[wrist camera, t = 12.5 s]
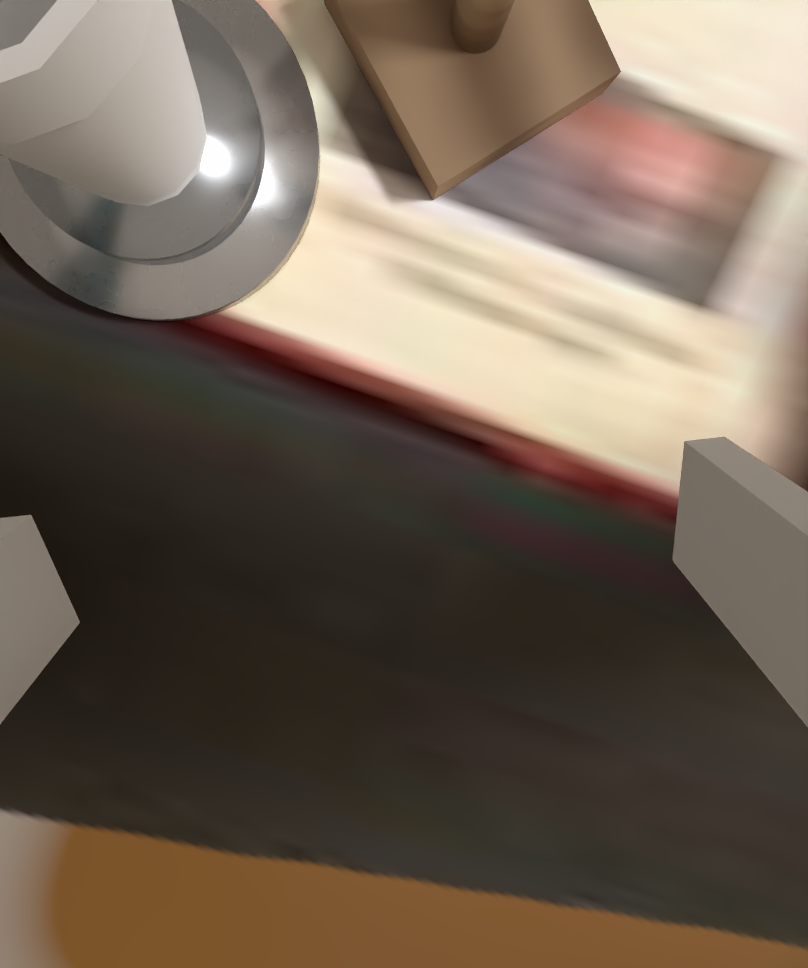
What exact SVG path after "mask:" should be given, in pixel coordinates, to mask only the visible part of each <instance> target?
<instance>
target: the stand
mask: <svg viewBox="0 0 808 968" xmlns="http://www.w3.org/2000/svg"><path fill="white" fill-rule="evenodd" d="M324 2H325V5H326V7H327V9H328V11H329V12H330V14H331V16H332V18H333V20H334V22H335V23H336V25H337V27H338V29H339V31H340V32H341V34H342V36H343V38H344V40H345V42H346V43H347V45H348V47H349V49H350V51H351V53H352V54H353V56H354V58H355V60H356V62H357V63H358V65H359V67H360V69H361V71H362V73H363V74H364V76H365V78H366V80H367V82H368V83H369V85H370V87H371V89H372V91H373V93H374V94H375V96H376V98H377V100H378V102H379V104H380V105H381V107H382V109H383V111H384V113H385V114H386V116H387V118H388V120H389V122H390V124H391V125H392V127H393V129H394V131H395V133H396V135H397V136H398V138H399V140H400V142H401V144H402V145H403V147H404V149H405V151H406V153H407V155H408V156H409V158H410V160H411V162H412V164H413V165H414V167H415V169H416V171H417V173H418V175H419V176H420V178H421V180H422V182H423V184H424V186H425V187H426V189H427V191H428V193H429V195H430V196H431V198H432V200H434V199H436V198H437V197H439V196H440V195H442V194H444V193H445V192H447V191H448V190H450V189H451V188H453V187H455V186H456V185H458V184H459V183H461V182H463V181H464V180H466V179H467V178H469V177H470V176H472V175H474V174H475V173H477V172H478V171H480V170H482V169H483V168H485V167H486V166H488V165H490V164H491V163H493V162H494V161H496V160H497V159H499V158H501V157H502V156H504V155H505V154H507V153H509V152H510V151H512V150H513V149H515V148H516V147H518V146H520V145H521V144H523V143H524V142H526V141H528V140H529V139H531V138H532V137H534V136H535V135H537V134H539V133H540V132H542V131H543V130H545V129H547V128H548V127H550V126H551V125H553V124H555V123H556V122H558V121H559V120H561V119H562V118H564V117H566V116H567V115H569V114H570V113H572V112H574V111H575V110H577V109H578V108H580V107H581V106H583V105H585V104H586V103H588V102H589V101H591V100H593V99H594V98H596V97H597V96H599V95H601V94H602V93H603V92H604V91H605V90H606V88H607V87H608V86H609V85H610V84H611V83H612V81H613V80H614V79H615V78H616V77H617V75H618V74H619V73H620V72H621V71H620V69H619V66H618V64H617V62H616V60H615V58H614V56H613V53H612V51H611V49H610V47H609V45H608V42H607V40H606V38H605V36H604V34H603V32H602V29H601V27H600V25H599V23H598V21H597V19H596V16H595V14H594V12H593V10H592V8H591V5H590V3H589V1H588V0H324Z"/></svg>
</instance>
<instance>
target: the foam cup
mask: <svg viewBox="0 0 808 968" xmlns="http://www.w3.org/2000/svg"><path fill="white" fill-rule="evenodd" d="M206 142H207V134H206V129H205V123H204V117H203V112H202V106H201V103H200V98H199V94H198V90H197V87H196V83H195V80H194V76H193V73H192V69H191V66H190V62H189V59H188V56H187V52H186V49H185V45H184V42H183V38H182V35H181V31H180V28H179V24H178V21H177V17H176V14H175V11H174V7H173V4H172V0H0V155H2V156H5V157H7V158H10V159H12V160H14V161H17V162H19V163H22V164H24V165H26V166H29V167H31V168H34V169H36V170H38V171H41V172H43V173H46V174H48V175H50V176H53V177H55V178H58V179H60V180H62V181H65V182H67V183H70V184H72V185H74V186H77V187H79V188H82V189H84V190H87V191H89V192H91V193H94V194H96V195H99V196H101V197H103V198H106V199H108V200H113V201H114V202H118V203H127V204H135V205H143V206H150V205H153V204H155V203H158V202H161V201H164V200H166V199H169V198H172V197H174V196H177V195H179V193H180V192H181V191H182V190H183V189H184V188H185V187H186V185H187V184H188V183H189V182H190V181H191V180H192V179H193V178H194V176H195V175H196V174H197V173H198V172H199V169H200V165H201V161H202V158H203V154H204V150H205V146H206Z"/></svg>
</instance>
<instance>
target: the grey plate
mask: <svg viewBox="0 0 808 968" xmlns="http://www.w3.org/2000/svg"><path fill="white" fill-rule="evenodd" d="M172 4H173V7H174V11H175V14H176V17H177V21H178V24H179V28H180V31H181V35H182V38H183V42H184V45H185V49H186V52H187V56H188V59H189V62H190V66H191V69H192V73H193V76H194V80H195V83H196V87H197V90H198V94H199V98H200V103H201V106H202V112H203V117H204V123H205V129H206V134H207V142H206V146H205V150H204V154H203V158H202V161H201V165H200V169H199V172H198V173H197V174H196V175H195V176H194V178H193V179H192V180H191V181H190V182H189V183H188V184H187V185H186V187H185V188H184V189H183V190H182V191H181V192H180V193H179V195H177V196H174V197H172V198H169V199H166V200H164V201H161V202H158V203H155V204H153V205H150V206H143V205H135V204H127V203H118V202H114V201H113V200H108V199H106V198H103V197H101V196H99V195H96V194H94V193H91V192H89V191H87V190H84V189H82V188H79V187H77V186H74V185H72V184H70V183H67V182H65V181H62V180H60V179H58V178H55V177H53V176H50V175H48V174H46V173H43V172H41V171H38V170H36V169H34V168H31V167H29V166H26V165H24V164H22V163H19V162H17V161H14V160H12V159H10V158H7V157H5V156H2V155H0V232H1V234H2V235H3V236H4V238H5V239H6V240H7V242H8V243H9V244H10V246H11V247H12V248H13V249H14V250H15V251H16V252H17V253H18V254H19V255H20V257H21V258H22V259H23V260H24V261H25V262H26V263H27V264H28V265H29V266H30V267H32V268H33V269H34V270H35V271H36V272H37V273H39V274H40V275H41V276H42V277H43V278H45V279H46V280H47V281H48V282H50V283H51V284H53V285H55V286H56V287H58V288H59V289H61V290H62V291H64V292H65V293H67V294H68V295H70V296H72V297H74V298H76V299H78V300H80V301H82V302H84V303H86V304H89V305H91V306H94V307H97V308H100V309H102V310H105V311H108V312H111V313H114V314H118V315H122V316H127V317H131V318H136V319H140V320H151V321H184V320H189V319H195V318H201V317H205V316H208V315H211V314H215V313H218V312H221V311H224V310H226V309H228V308H230V307H232V306H234V305H236V304H238V303H240V302H242V301H244V300H245V299H247V298H248V297H250V296H251V295H253V294H254V293H256V292H257V291H259V290H260V289H261V288H262V287H263V286H264V285H265V284H267V283H268V282H269V281H270V280H271V279H272V278H273V277H274V276H275V275H276V274H277V273H278V272H279V271H280V269H281V268H282V267H283V266H284V265H285V263H286V262H287V261H288V260H289V258H290V257H291V255H292V253H293V252H294V250H295V249H296V247H297V246H298V244H299V242H300V240H301V238H302V236H303V234H304V232H305V229H306V227H307V225H308V223H309V220H310V216H311V213H312V210H313V207H314V204H315V199H316V193H317V188H318V182H319V168H320V150H319V135H318V129H317V123H316V118H315V112H314V107H313V102H312V98H311V95H310V92H309V89H308V86H307V82H306V79H305V76H304V74H303V72H302V70H301V67H300V65H299V63H298V61H297V58H296V56H295V54H294V52H293V51H292V49H291V47H290V46H289V44H288V42H287V41H286V39H285V37H284V36H283V34H282V32H281V31H280V30H279V28H278V27H277V26H276V24H275V23H274V22H273V20H272V19H271V18H270V16H269V15H268V14H267V13H266V11H265V10H264V9H263V8H262V7H261V6H260V5H259V4H258V3H257V2H256V1H255V0H172Z"/></svg>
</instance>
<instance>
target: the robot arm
mask: <svg viewBox="0 0 808 968" xmlns="http://www.w3.org/2000/svg"><path fill="white" fill-rule="evenodd" d="M672 561H673V562H674V563H675V564H676V566H677V567H678V568H679V569H680V571H681V572H682V573H683V574H684V575H685V577H686V578H687V579H688V580H689V582H690V583H691V584H692V585H693V587H694V588H695V589H696V590H697V591H698V593H699V594H700V595H701V596H702V598H703V599H704V600H705V601H706V603H707V604H708V605H709V606H710V607H711V609H712V610H713V611H714V612H715V614H716V615H717V616H718V617H719V619H720V620H721V621H722V622H723V623H724V625H725V626H726V627H727V628H728V630H729V631H730V632H731V633H732V635H733V636H734V637H735V638H736V639H737V641H738V642H739V643H740V644H741V646H742V647H743V648H744V649H745V651H746V652H747V653H748V654H749V656H750V657H751V658H752V659H753V660H754V662H755V663H756V664H757V665H758V667H759V668H760V669H761V670H762V672H763V673H764V674H765V675H766V676H767V678H768V679H769V680H770V681H771V683H772V684H773V685H774V686H775V688H776V689H777V690H778V691H779V692H780V694H781V695H782V696H783V697H784V699H785V700H786V701H787V702H788V704H789V705H790V706H791V707H792V708H793V710H794V711H795V712H796V713H797V715H798V716H799V717H800V718H801V720H802V721H803V722H804V723H805V724H806V726H807V727H808V492H807V491H806V490H804V489H803V488H801V487H800V486H798V485H797V484H795V483H794V482H792V481H791V480H789V479H788V478H786V477H785V476H783V475H782V474H780V473H779V472H777V471H775V470H774V469H772V468H771V467H769V466H768V465H766V464H765V463H763V462H762V461H760V460H759V459H757V458H756V457H754V456H753V455H751V454H750V453H748V452H747V451H745V450H744V449H742V448H741V447H739V446H738V445H736V444H735V443H733V442H732V441H730V440H729V439H727V438H725V437H718V438H710V439H701V440H692V441H685V442H684V451H683V461H682V471H681V481H680V490H679V500H678V510H677V520H676V529H675V539H674V549H673V559H672ZM79 623H80V621H79V619H78V617H77V615H76V612H75V610H74V608H73V606H72V604H71V601H70V599H69V597H68V595H67V593H66V590H65V588H64V586H63V584H62V582H61V579H60V577H59V575H58V573H57V571H56V568H55V566H54V564H53V562H52V560H51V557H50V555H49V553H48V551H47V549H46V546H45V544H44V542H43V540H42V537H41V535H40V533H39V531H38V529H37V526H36V524H35V522H34V520H33V518H32V515H24V516H15V517H6V518H0V724H1V723H2V721H3V720H4V719H5V717H6V716H7V715H8V714H9V712H10V711H11V710H12V709H13V707H14V706H15V705H16V703H17V702H18V701H19V700H20V698H21V697H22V696H23V695H24V693H25V692H26V691H27V689H28V688H29V687H30V686H31V684H32V683H33V682H34V680H35V679H36V678H37V677H38V675H39V674H40V673H41V672H42V670H43V669H44V668H45V666H46V665H47V664H48V663H49V661H50V660H51V659H52V658H53V656H54V655H55V654H56V652H57V651H58V650H59V649H60V647H61V646H62V645H63V643H64V642H65V641H66V640H67V638H68V637H69V636H70V635H71V633H72V632H73V631H74V629H75V628H76V627H77V626H78V624H79Z"/></svg>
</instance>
